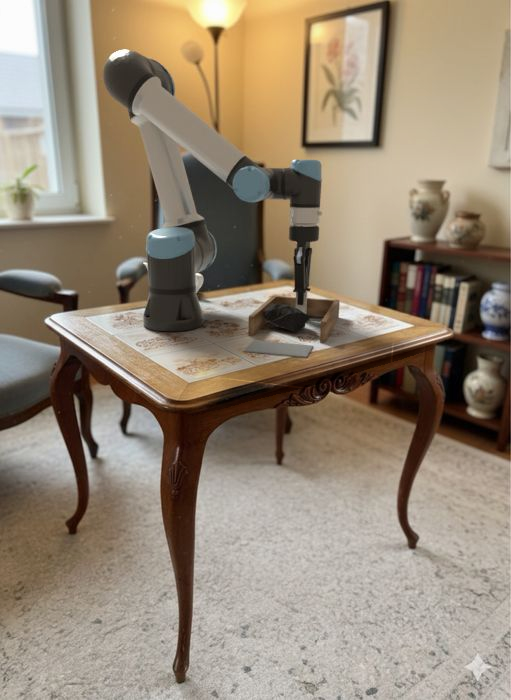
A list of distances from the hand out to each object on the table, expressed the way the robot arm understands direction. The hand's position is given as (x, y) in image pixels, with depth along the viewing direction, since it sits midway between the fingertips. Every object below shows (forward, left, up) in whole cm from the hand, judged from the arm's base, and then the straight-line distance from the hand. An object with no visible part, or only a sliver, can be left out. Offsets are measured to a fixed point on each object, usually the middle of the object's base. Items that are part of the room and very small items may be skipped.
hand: (300, 315), depth 142 cm
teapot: (-44, +17, -2) cm, 47 cm away
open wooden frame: (0, -6, -1) cm, 6 cm away
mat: (0, -25, -1) cm, 26 cm away
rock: (+1, -14, -1) cm, 14 cm away
